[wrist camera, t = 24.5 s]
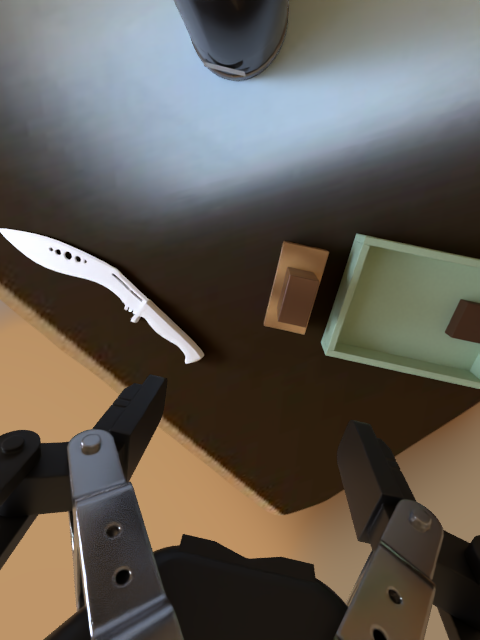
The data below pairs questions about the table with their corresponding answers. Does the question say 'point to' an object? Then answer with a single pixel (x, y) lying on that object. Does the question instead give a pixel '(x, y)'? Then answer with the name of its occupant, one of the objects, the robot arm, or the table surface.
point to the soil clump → (465, 322)
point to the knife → (102, 283)
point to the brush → (295, 287)
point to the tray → (404, 310)
